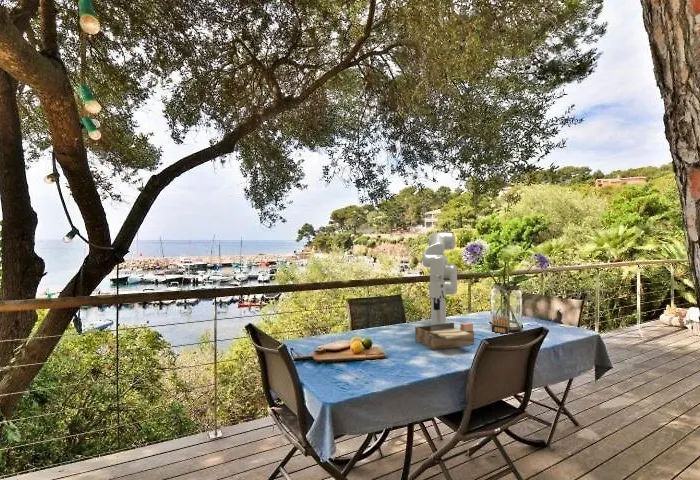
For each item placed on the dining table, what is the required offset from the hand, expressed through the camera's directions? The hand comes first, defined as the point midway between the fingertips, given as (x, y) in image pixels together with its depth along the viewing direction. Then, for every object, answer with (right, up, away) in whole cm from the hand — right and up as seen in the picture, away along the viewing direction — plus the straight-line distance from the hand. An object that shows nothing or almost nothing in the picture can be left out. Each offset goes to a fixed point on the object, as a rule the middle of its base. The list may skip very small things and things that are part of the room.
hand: (436, 309), depth 249 cm
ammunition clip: (+44, -19, +22) cm, 52 cm away
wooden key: (+17, -12, -2) cm, 20 cm away
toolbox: (+4, -19, +1) cm, 20 cm away
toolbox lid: (+5, -11, -12) cm, 17 cm away
